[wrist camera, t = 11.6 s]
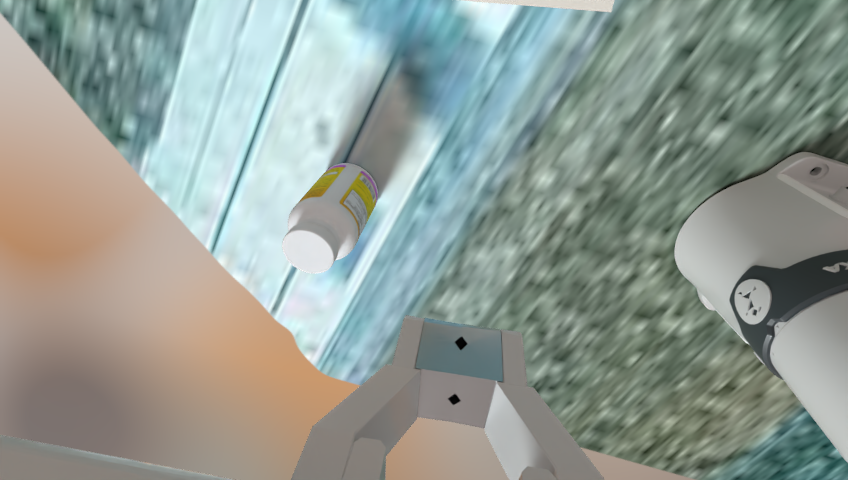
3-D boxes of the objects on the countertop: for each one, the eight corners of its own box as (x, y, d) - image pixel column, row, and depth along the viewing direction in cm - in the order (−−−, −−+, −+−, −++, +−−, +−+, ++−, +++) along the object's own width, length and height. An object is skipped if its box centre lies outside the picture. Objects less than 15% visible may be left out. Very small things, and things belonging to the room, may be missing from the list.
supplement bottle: (317, 200, 45) (264, 265, 34) (330, 151, 41) (276, 206, 31) (370, 222, 46) (334, 292, 35) (387, 176, 42) (353, 238, 31)
